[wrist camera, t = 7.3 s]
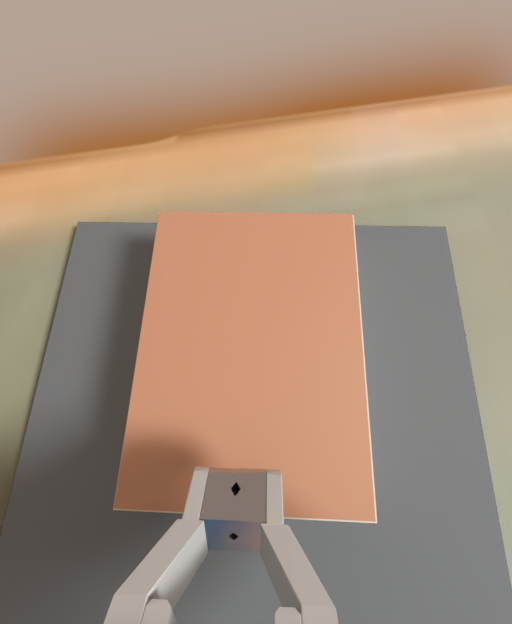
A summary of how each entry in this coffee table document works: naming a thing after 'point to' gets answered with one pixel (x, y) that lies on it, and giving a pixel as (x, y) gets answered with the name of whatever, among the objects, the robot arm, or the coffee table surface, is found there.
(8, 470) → the coffee table surface
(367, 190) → the coffee table surface
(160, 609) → the robot arm
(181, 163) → the coffee table surface
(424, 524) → the mat
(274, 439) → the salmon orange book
